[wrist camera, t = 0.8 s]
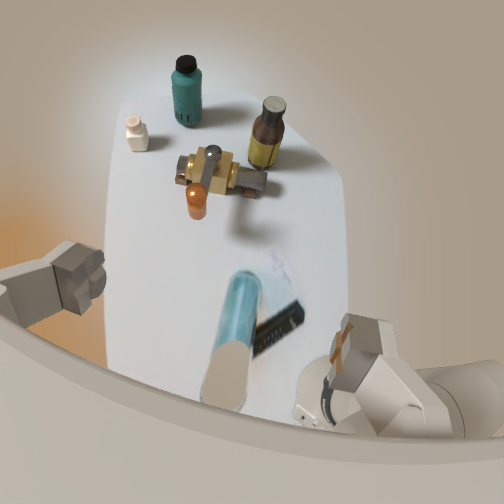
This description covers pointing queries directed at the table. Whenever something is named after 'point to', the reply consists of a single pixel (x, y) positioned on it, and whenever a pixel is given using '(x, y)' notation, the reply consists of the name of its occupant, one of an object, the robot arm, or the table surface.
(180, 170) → the ball valve
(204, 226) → the table surface
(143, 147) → the pepper shaker
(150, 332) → the table surface
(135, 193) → the table surface
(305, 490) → the robot arm
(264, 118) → the sauce bottle
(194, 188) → the crank handle
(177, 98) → the beverage bottle
